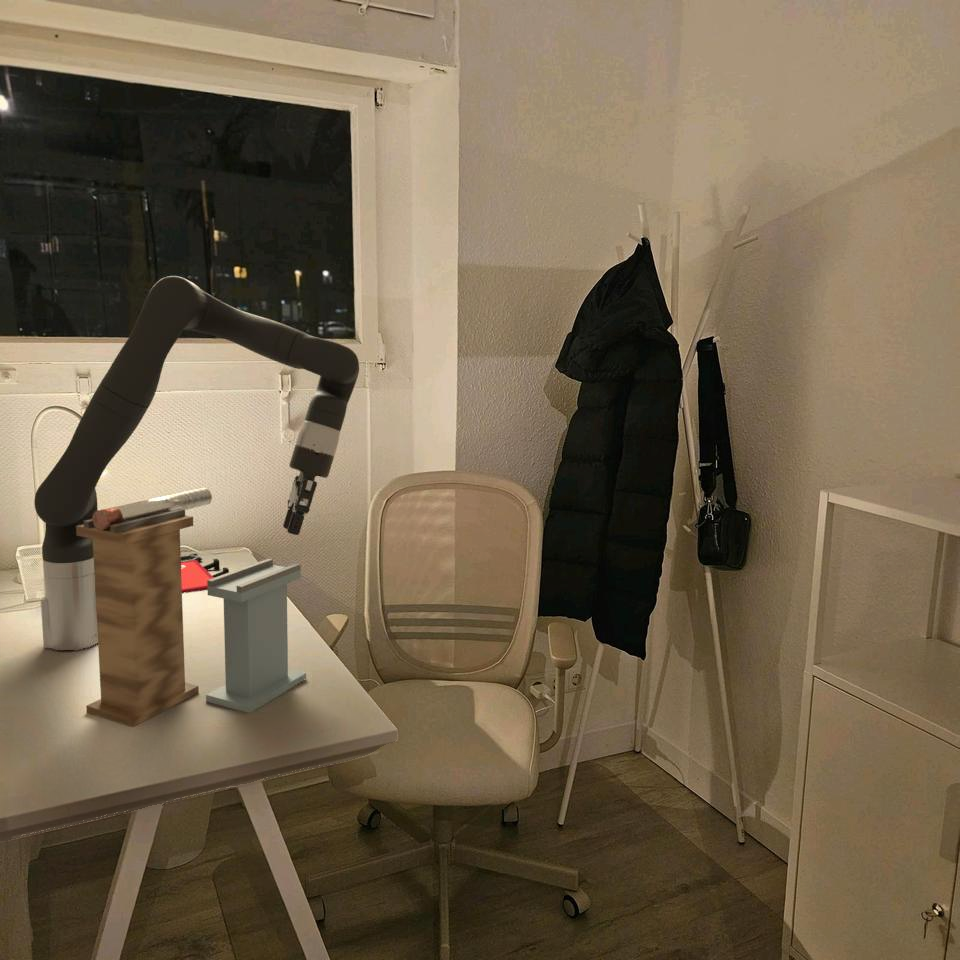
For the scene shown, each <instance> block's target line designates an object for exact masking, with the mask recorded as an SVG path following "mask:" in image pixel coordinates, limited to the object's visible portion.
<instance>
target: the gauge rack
mask: <svg viewBox="0 0 960 960" xmlns="http://www.w3.org/2000/svg"><path fill="white" fill-rule="evenodd" d="M301 571H302V570H301V563H293V564H290V565H288V566H281V565H275V564H274V561H273V558H265V559H263V560H260V561H257V562H255V563H254V562H253V563H252V564H249V565H246V566H244V567H241V568H238V569H234V570H232V571H229V573H226V574H223V575H220V576H218V577H215V578H212V579H209V580H207V596H210V597H216V598H220V599H223V623H224V625H223V628H224V629H223V631H224V662H225V663H224V666H225V667H224V668H225V669H224V670H225V673H224V674H225V675H224V676H225V684H224V685H221V686H220V687H218V688H216V689H214V690H212V691H211V692H209V693H207V694H205V701H206V702H207V703H211V704H214V705H217V706H222V707H225V708H229V709H233V710H235V711H239V712H243V713H246V714H251V713H252V712H254V711H255V710H257V709H258V708H260V707H262V706H264V705H266V704H267V703H269V702H271V701H273V700H274V699H276V698H277V697H279V696H281V695H282V694H285V692H287V690H288V689H289V690H291V689H293V688H294V687H296V686H298V685H299V684H301V683H302V682H301V681H303V680H304V679H306V680H307V673H306V672H303V671H299V670H294V669H290V668H289V661H288V660H289V659H288V658H289V656H288V655H289V654H288V652H289V649H288V647H289V646H288V645H289V644H288V638H289V636H288V584H290V583H292V582H295V581H297V580H299V579H301V578H302V577H301ZM304 681H305V680H304ZM304 681H303V682H304ZM300 682H301V683H300ZM298 683H299V684H298ZM297 684H298V685H297ZM295 685H296V686H295ZM292 687H293V688H292ZM290 688H291V689H290ZM289 690H288V691H289Z"/></svg>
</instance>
